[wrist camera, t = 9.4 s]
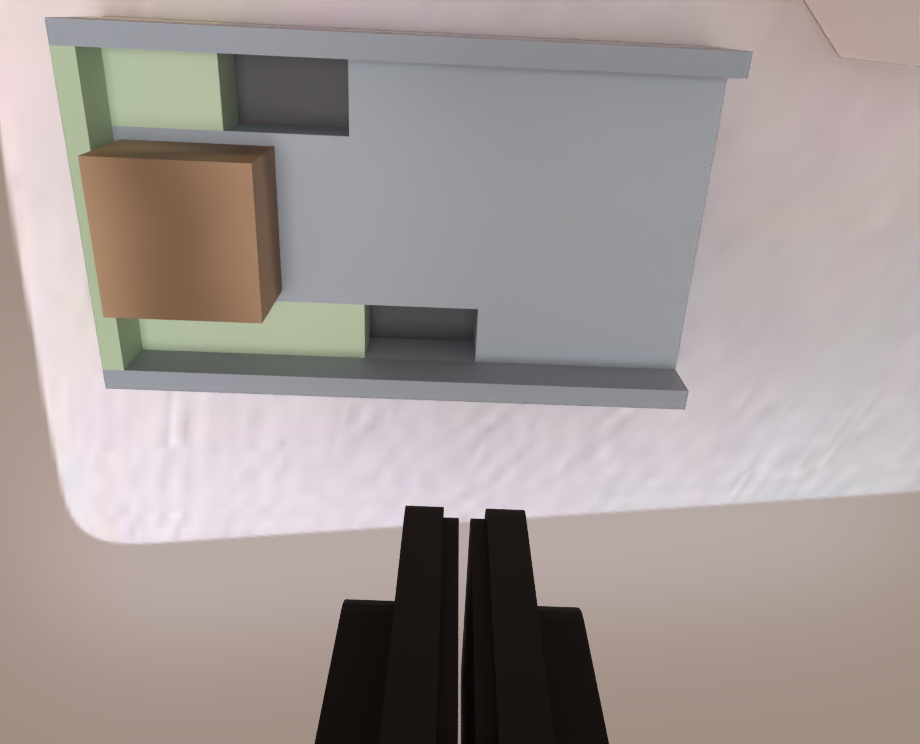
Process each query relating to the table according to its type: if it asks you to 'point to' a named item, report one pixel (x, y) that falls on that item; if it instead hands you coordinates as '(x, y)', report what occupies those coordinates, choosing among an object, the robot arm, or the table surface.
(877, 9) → the milk
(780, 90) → the table surface
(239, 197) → the block
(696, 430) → the table surface
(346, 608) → the robot arm
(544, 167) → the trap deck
